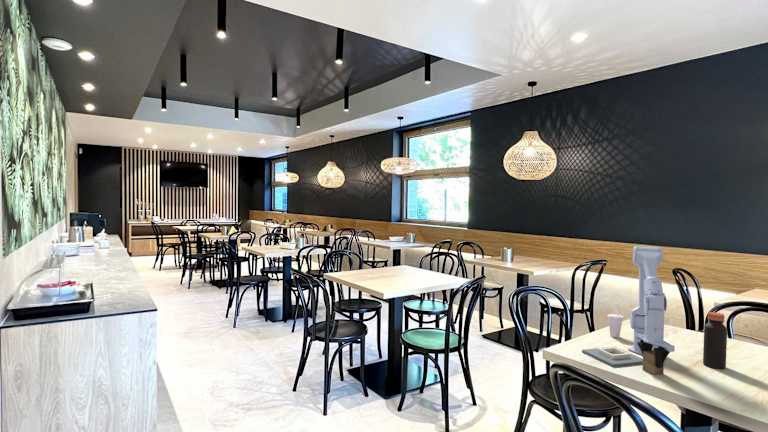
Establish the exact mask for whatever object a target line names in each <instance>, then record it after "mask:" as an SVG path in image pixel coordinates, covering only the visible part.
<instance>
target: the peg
mask: <svg viewBox="0 0 768 432" xmlns="http://www.w3.org/2000/svg"><path fill="white" fill-rule="evenodd" d="M642 359H643V364H642V371H643V372H646V373H649V374H650V375H653V376H655V375H663V374H664V370H665V369H664V367H665V363H664V364H663V367H662V368H657V367H656V356H655V352H654V350H649V351H643V355H642Z"/></svg>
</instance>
